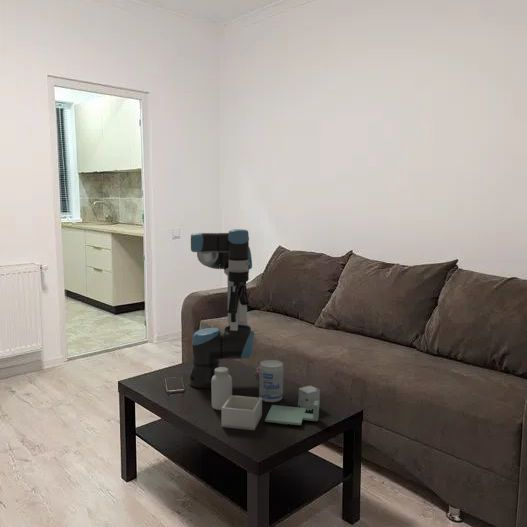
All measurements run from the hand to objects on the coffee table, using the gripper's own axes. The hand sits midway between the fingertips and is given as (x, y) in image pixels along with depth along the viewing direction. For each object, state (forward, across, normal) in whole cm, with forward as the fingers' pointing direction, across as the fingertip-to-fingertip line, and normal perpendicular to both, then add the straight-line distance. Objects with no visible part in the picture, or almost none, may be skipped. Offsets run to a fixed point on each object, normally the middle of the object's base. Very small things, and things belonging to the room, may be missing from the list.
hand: (238, 325), depth 198 cm
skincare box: (+32, +4, -27) cm, 42 cm away
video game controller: (+32, +28, -3) cm, 43 cm away
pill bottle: (+32, -3, +6) cm, 33 cm away
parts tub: (+32, -14, -5) cm, 35 cm away
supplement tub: (+32, +9, -11) cm, 35 cm away
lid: (+32, -8, -23) cm, 40 cm away
